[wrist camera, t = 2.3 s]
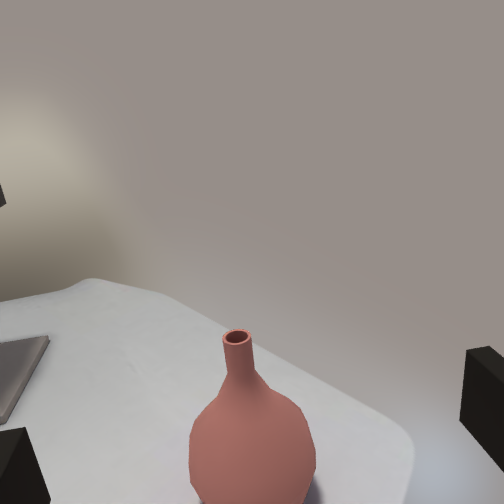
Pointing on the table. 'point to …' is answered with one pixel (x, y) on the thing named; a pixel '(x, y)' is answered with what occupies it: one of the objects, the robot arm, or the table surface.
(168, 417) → the table surface
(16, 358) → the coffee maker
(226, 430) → the pink vase
